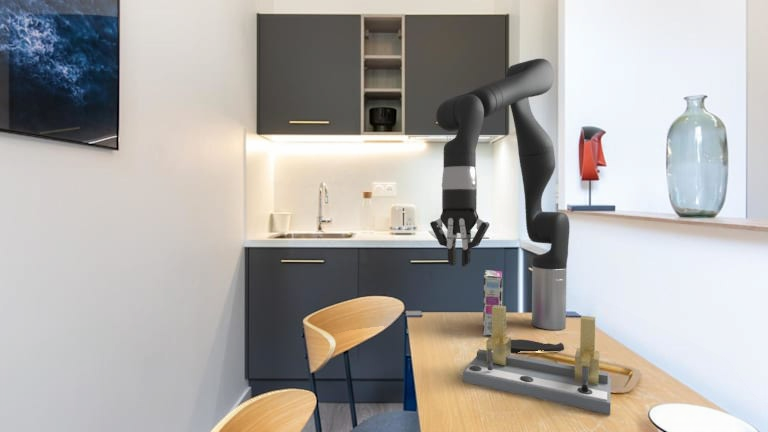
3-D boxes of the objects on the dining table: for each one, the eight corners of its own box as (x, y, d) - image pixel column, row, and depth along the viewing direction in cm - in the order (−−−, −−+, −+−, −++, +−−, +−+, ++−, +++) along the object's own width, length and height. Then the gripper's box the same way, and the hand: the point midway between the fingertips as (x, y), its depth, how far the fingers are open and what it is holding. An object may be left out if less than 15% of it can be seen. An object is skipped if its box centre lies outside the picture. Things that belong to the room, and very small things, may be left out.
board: (479, 361, 92) (479, 345, 92) (610, 386, 79) (610, 369, 79) (462, 381, 82) (462, 364, 82) (610, 414, 69) (610, 394, 69)
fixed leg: (576, 371, 82) (577, 313, 82) (599, 375, 80) (600, 316, 80) (572, 391, 73) (573, 326, 73) (597, 396, 71) (598, 330, 71)
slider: (492, 354, 90) (492, 303, 90) (510, 357, 88) (511, 305, 88) (479, 370, 82) (479, 313, 81) (499, 374, 80) (500, 316, 79)
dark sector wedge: (569, 358, 95) (569, 351, 95) (509, 354, 97) (509, 348, 97) (560, 346, 103) (560, 339, 103) (505, 342, 105) (505, 336, 105)
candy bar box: (502, 338, 108) (502, 277, 107) (482, 336, 109) (483, 276, 108) (501, 325, 118) (502, 270, 118) (484, 324, 120) (484, 269, 119)
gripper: (494, 188, 90) (494, 265, 91) (436, 189, 97) (436, 261, 97) (485, 186, 84) (485, 270, 84) (423, 188, 90) (423, 265, 91)
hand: (458, 265), depth 91 cm, fingers closed
